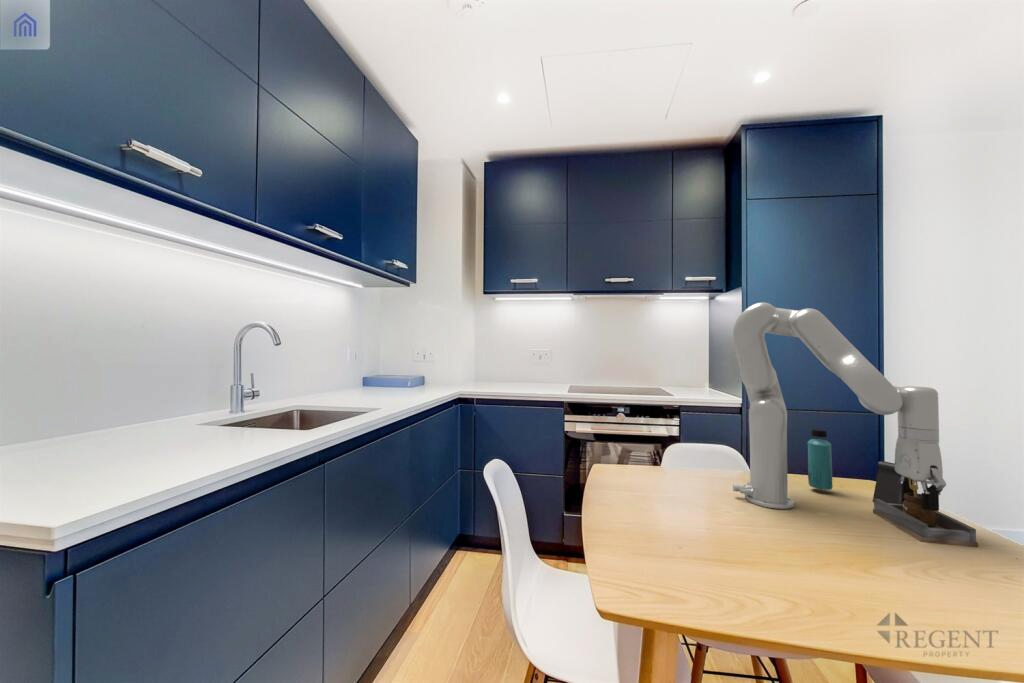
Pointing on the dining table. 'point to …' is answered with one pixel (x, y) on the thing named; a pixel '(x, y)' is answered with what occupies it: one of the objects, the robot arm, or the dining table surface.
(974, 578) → the dining table surface
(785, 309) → the robot arm
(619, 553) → the dining table surface
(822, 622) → the dining table surface
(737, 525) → the dining table surface
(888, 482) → the phone stand
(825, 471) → the beverage bottle
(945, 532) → the gray framed rectangular tray
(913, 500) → the utensil holder
